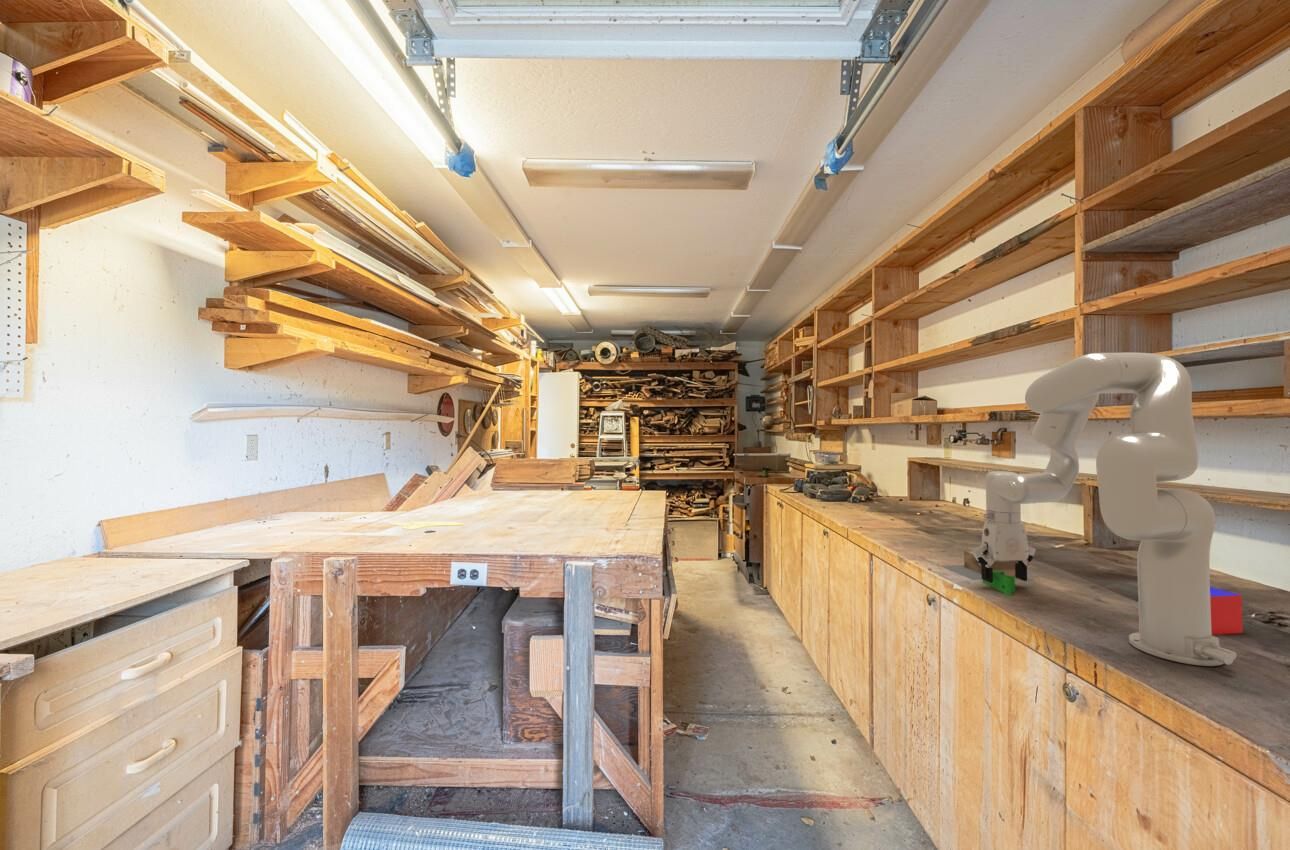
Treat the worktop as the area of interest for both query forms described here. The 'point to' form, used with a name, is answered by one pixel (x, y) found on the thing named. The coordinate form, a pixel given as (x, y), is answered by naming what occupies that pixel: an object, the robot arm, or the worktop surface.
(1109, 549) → the worktop surface
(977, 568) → the base brick
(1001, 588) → the green notched block
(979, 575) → the mat
